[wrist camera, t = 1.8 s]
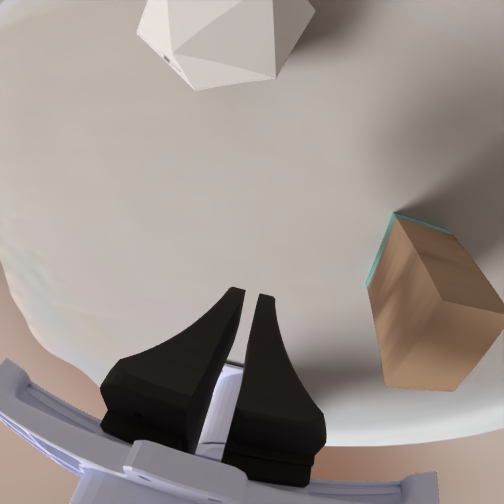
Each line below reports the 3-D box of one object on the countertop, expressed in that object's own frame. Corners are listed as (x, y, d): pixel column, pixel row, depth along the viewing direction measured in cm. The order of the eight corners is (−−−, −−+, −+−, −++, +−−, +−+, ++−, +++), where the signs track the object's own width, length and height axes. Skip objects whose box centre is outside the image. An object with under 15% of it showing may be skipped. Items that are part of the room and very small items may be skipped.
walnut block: (418, 294, 22) (453, 391, 13) (365, 282, 22) (385, 386, 14) (448, 230, 19) (511, 315, 10) (392, 212, 19) (442, 300, 11)
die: (180, -12, 14) (80, 48, 11) (269, -81, 8) (166, -73, 5) (250, 62, 19) (181, 143, 16) (350, 16, 13) (313, 85, 9)
